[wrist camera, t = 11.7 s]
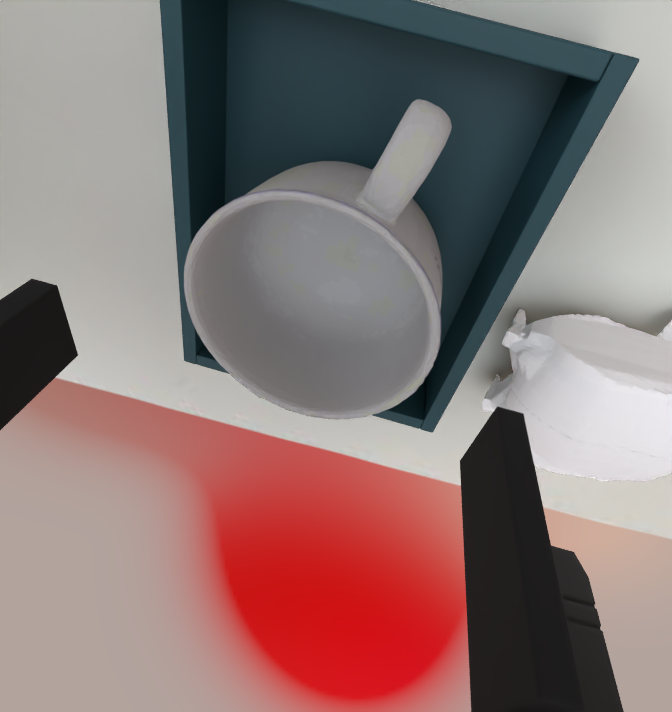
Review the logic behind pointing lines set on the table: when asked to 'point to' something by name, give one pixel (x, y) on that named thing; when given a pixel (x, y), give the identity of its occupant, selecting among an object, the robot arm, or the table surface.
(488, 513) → the robot arm
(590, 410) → the white figurine
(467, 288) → the tray
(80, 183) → the table surface
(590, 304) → the table surface
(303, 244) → the teacup
